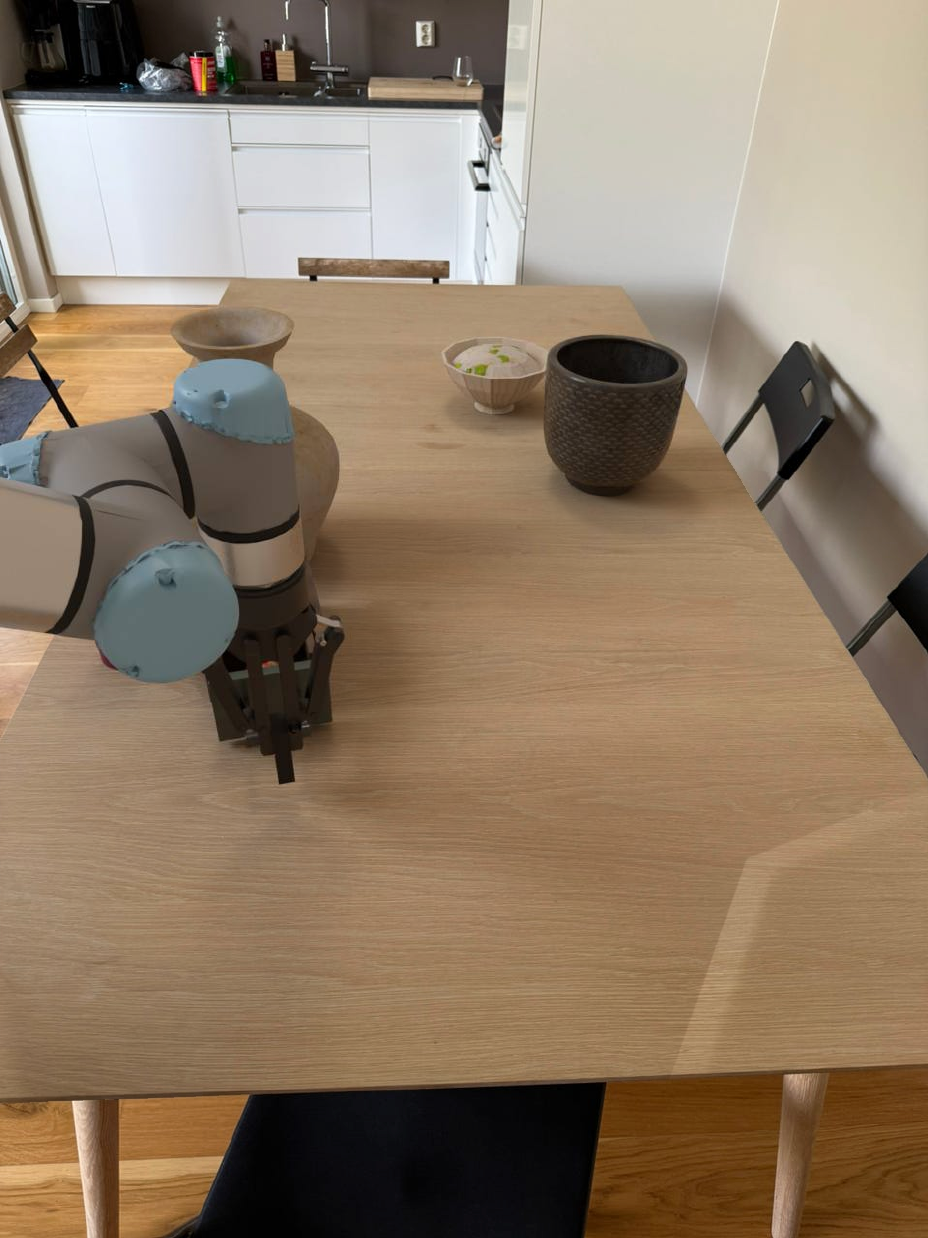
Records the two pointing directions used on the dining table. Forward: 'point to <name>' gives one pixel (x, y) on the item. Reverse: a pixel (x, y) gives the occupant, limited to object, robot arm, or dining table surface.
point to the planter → (611, 409)
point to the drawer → (267, 694)
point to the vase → (314, 446)
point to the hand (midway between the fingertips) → (285, 772)
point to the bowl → (495, 370)
